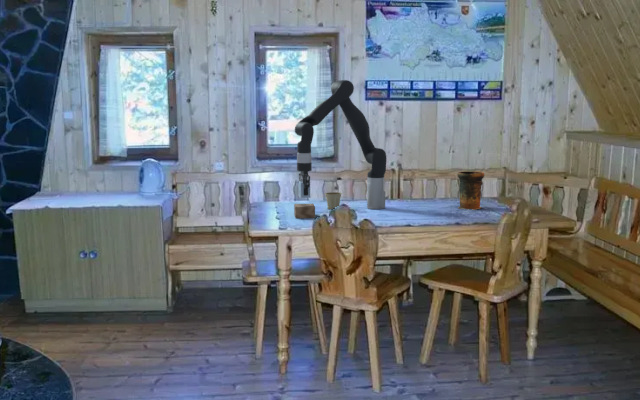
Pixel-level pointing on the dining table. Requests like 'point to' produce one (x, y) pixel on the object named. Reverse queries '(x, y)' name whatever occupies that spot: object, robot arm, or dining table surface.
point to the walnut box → (304, 210)
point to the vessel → (470, 189)
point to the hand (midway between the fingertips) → (304, 194)
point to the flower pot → (333, 199)
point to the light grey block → (302, 190)
